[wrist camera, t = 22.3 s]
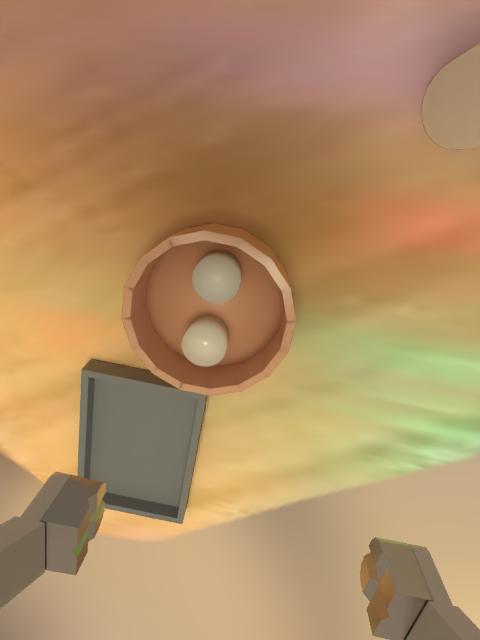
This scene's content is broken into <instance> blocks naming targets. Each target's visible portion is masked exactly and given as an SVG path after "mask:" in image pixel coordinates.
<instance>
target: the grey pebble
mask: <svg viewBox="0 0 480 640" xmlns="http://www.w3.org/2000/svg"><path fill="white" fill-rule="evenodd" d="M241 279H242V266H241V263H240V261H239V260H238V258H237V257H236V256H235V255H234V254H232V253H230V252H228V251H226V250H214V251H211V252H209V253H207V254H206V255H205V256H204V257H203V258H202V259H201V260H200V262H199V263H198V264H197V265H196V267H195V269H194V271H193V275H192V282H193V286H194V289H195V291H196V292H197V294H198V295H199V296H200V297H201V298H203V299H204V300H206V301H208V302H212V303H223V302H226V301H228V300H230V299H231V298H233V297H234V296H235V294H236V293H237V291H238V289H239V286H240V282H241Z"/></svg>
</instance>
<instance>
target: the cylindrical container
mask: <svg viewBox="0 0 480 640" xmlns="http://www.w3.org/2000/svg"><path fill="white" fill-rule="evenodd" d="M422 121H423V125H424V128H425V130H426V133H427V134H428V136H429V137H430V138H431V139H432V140H433V141H434V142H435V143H436V144H438V145H439V146H441V147H443V148H447V149H451V150H462V149H469V148H476V147H480V43H479V44H478V45H476V46H474V47H473V48H471V49H470V50H468V51H467V52H465V53H463V54H462V55H460V56H459V57H457V58H456V59H454V60H452V61H451V62H450V63H448V64H447V65H445V66H444V67H443V68H442V69H441V70H440V71H439V72H438V73H437V74H436V75H435V77H434V78H433V79H432V81H431V82H430V84H429V86H428V88H427V90H426V93H425V96H424V98H423V104H422Z"/></svg>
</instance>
